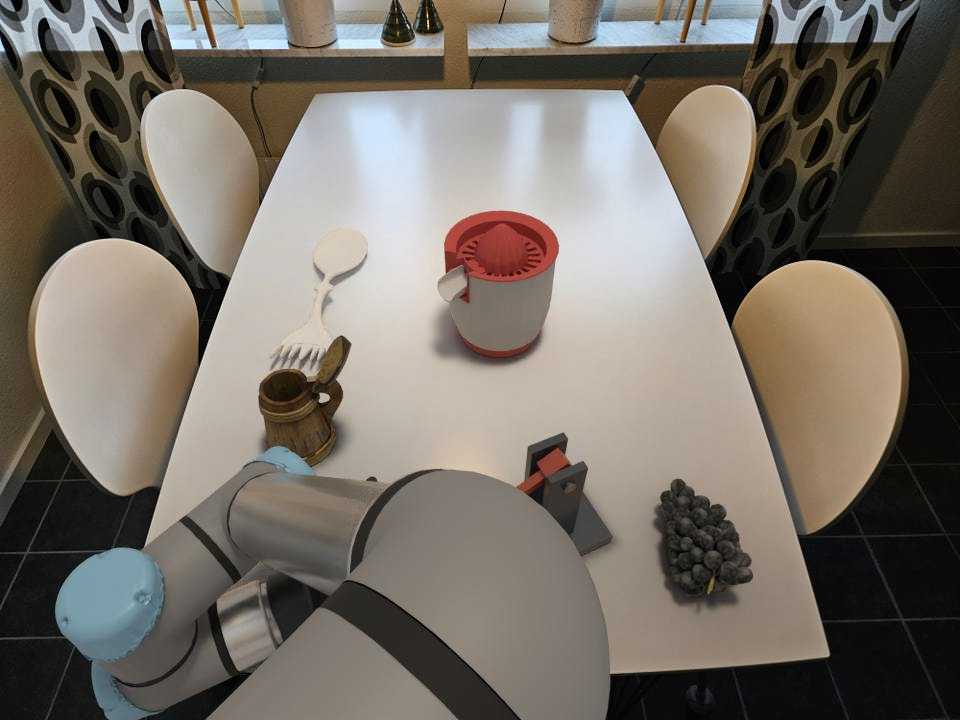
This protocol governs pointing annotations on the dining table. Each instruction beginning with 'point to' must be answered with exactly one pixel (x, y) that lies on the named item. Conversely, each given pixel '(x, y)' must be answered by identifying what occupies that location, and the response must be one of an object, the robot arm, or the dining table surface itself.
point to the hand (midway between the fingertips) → (472, 528)
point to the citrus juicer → (499, 280)
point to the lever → (545, 470)
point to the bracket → (567, 497)
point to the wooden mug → (304, 406)
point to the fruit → (701, 542)
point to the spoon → (324, 291)
